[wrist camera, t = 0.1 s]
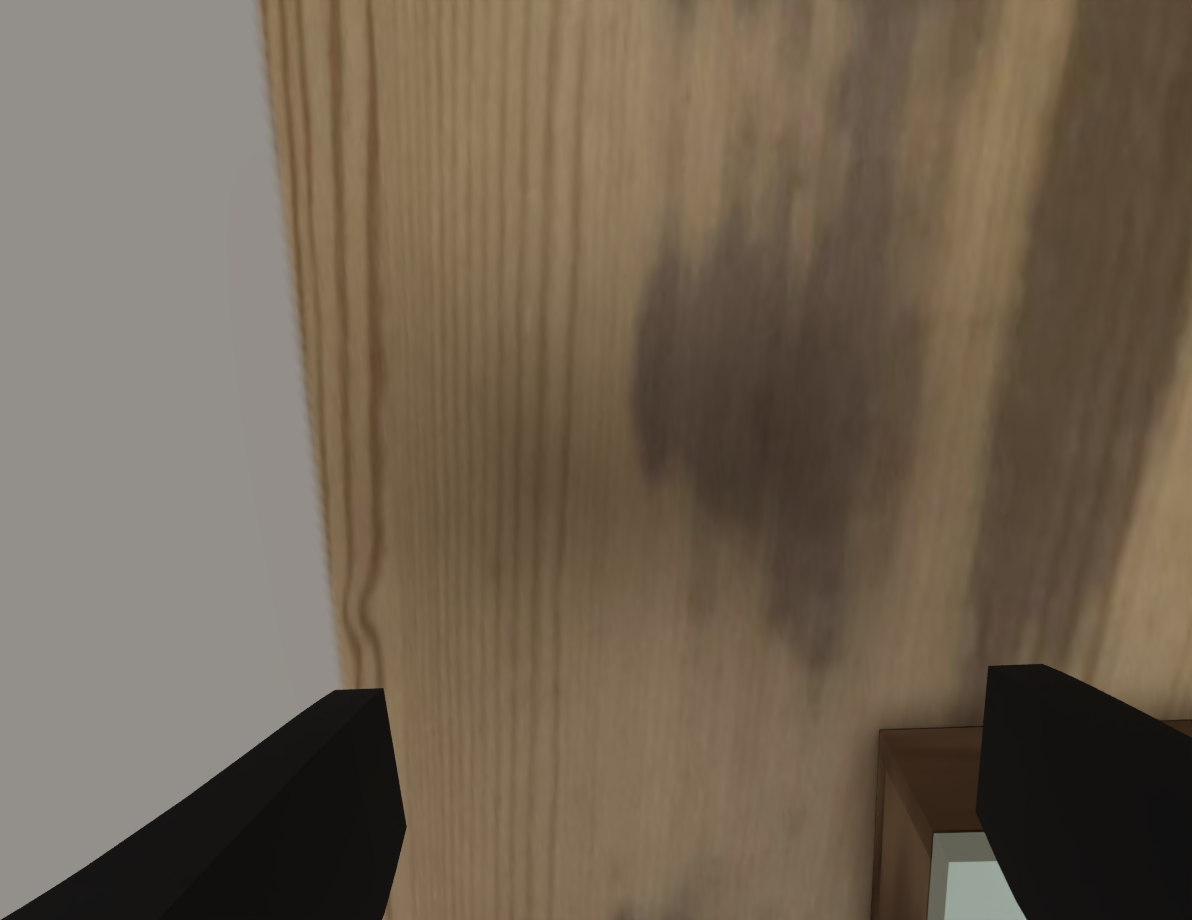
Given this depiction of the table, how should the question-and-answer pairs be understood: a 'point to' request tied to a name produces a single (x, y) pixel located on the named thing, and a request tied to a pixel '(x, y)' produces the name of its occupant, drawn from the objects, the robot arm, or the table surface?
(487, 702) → the table surface
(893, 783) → the walnut box
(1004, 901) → the lid
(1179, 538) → the table surface
